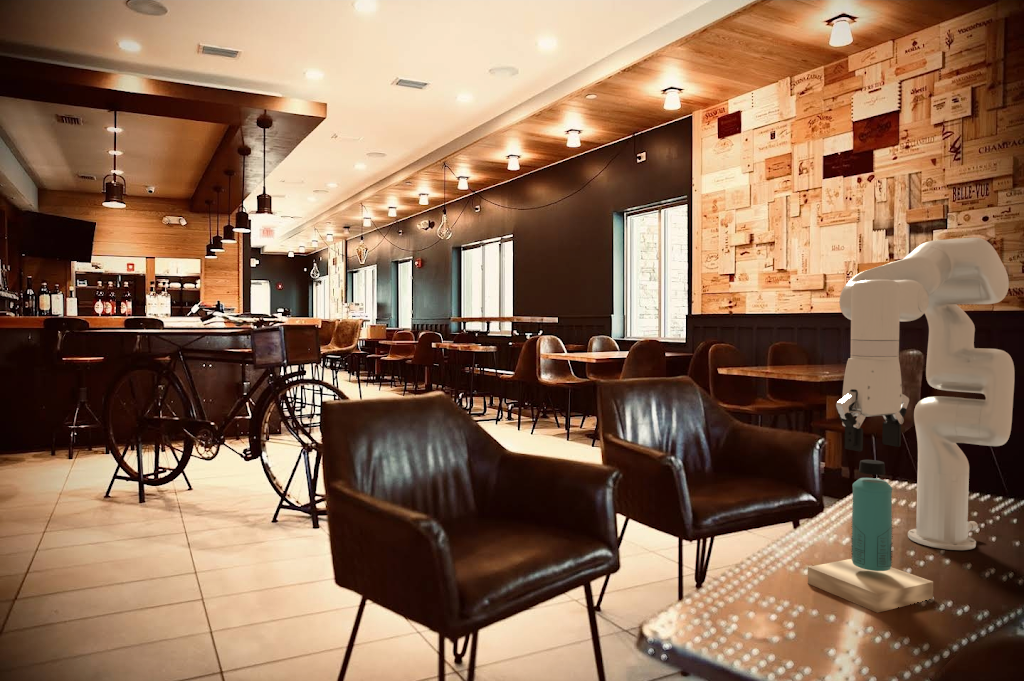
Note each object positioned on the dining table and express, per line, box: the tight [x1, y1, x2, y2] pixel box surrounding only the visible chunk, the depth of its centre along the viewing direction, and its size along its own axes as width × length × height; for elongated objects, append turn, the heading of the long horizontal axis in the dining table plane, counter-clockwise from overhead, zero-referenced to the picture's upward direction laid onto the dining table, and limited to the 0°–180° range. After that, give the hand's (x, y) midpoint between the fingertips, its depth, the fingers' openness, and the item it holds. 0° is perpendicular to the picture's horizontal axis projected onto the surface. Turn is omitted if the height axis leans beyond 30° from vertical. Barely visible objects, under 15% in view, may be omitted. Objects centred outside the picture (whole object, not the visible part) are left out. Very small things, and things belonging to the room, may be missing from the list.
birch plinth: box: [807, 558, 934, 613], centre depth 123 cm, size 14×14×3 cm
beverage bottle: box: [850, 459, 894, 571], centre depth 123 cm, size 6×7×20 cm
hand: (872, 447), depth 123 cm, fingers open, 9 cm apart
